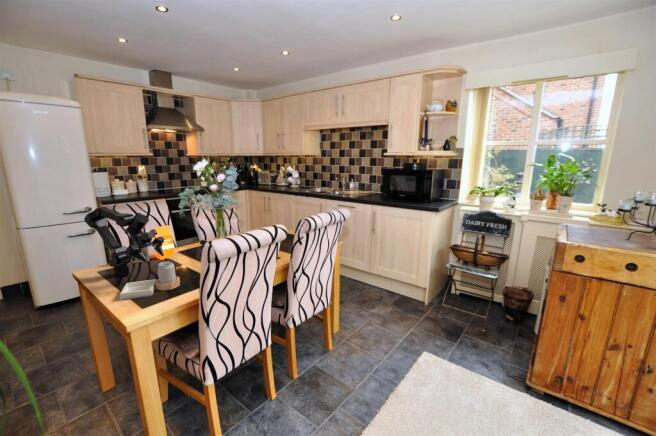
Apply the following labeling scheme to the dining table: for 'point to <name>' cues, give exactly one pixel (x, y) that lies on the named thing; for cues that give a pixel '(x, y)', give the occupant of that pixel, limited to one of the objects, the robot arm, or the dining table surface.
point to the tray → (138, 289)
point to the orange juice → (165, 242)
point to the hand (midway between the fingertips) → (155, 258)
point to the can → (166, 272)
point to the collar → (167, 285)
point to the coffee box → (143, 250)
